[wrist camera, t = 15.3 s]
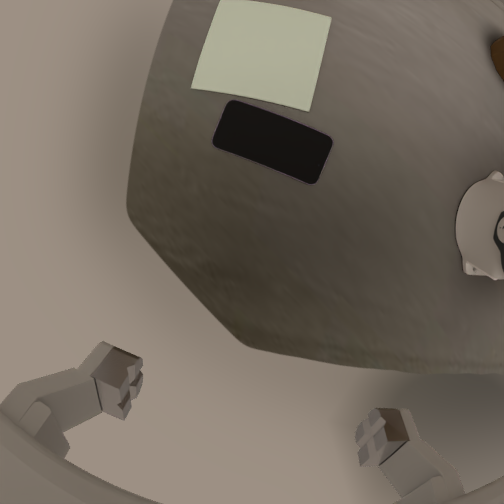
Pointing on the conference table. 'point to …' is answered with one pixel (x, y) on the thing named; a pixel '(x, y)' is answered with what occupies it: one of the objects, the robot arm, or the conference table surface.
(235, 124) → the smartphone
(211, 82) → the mat
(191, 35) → the conference table surface
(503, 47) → the flowerpot
